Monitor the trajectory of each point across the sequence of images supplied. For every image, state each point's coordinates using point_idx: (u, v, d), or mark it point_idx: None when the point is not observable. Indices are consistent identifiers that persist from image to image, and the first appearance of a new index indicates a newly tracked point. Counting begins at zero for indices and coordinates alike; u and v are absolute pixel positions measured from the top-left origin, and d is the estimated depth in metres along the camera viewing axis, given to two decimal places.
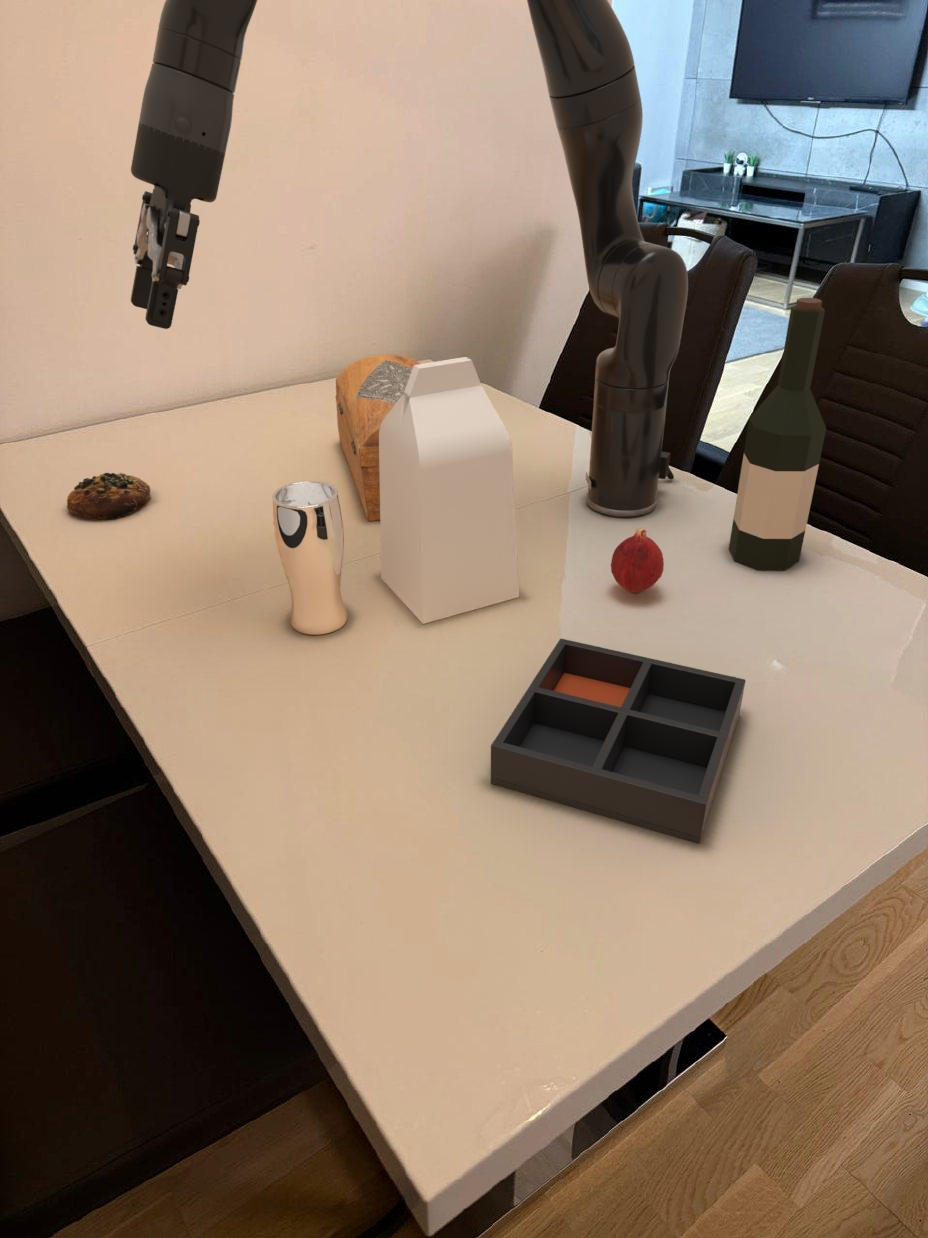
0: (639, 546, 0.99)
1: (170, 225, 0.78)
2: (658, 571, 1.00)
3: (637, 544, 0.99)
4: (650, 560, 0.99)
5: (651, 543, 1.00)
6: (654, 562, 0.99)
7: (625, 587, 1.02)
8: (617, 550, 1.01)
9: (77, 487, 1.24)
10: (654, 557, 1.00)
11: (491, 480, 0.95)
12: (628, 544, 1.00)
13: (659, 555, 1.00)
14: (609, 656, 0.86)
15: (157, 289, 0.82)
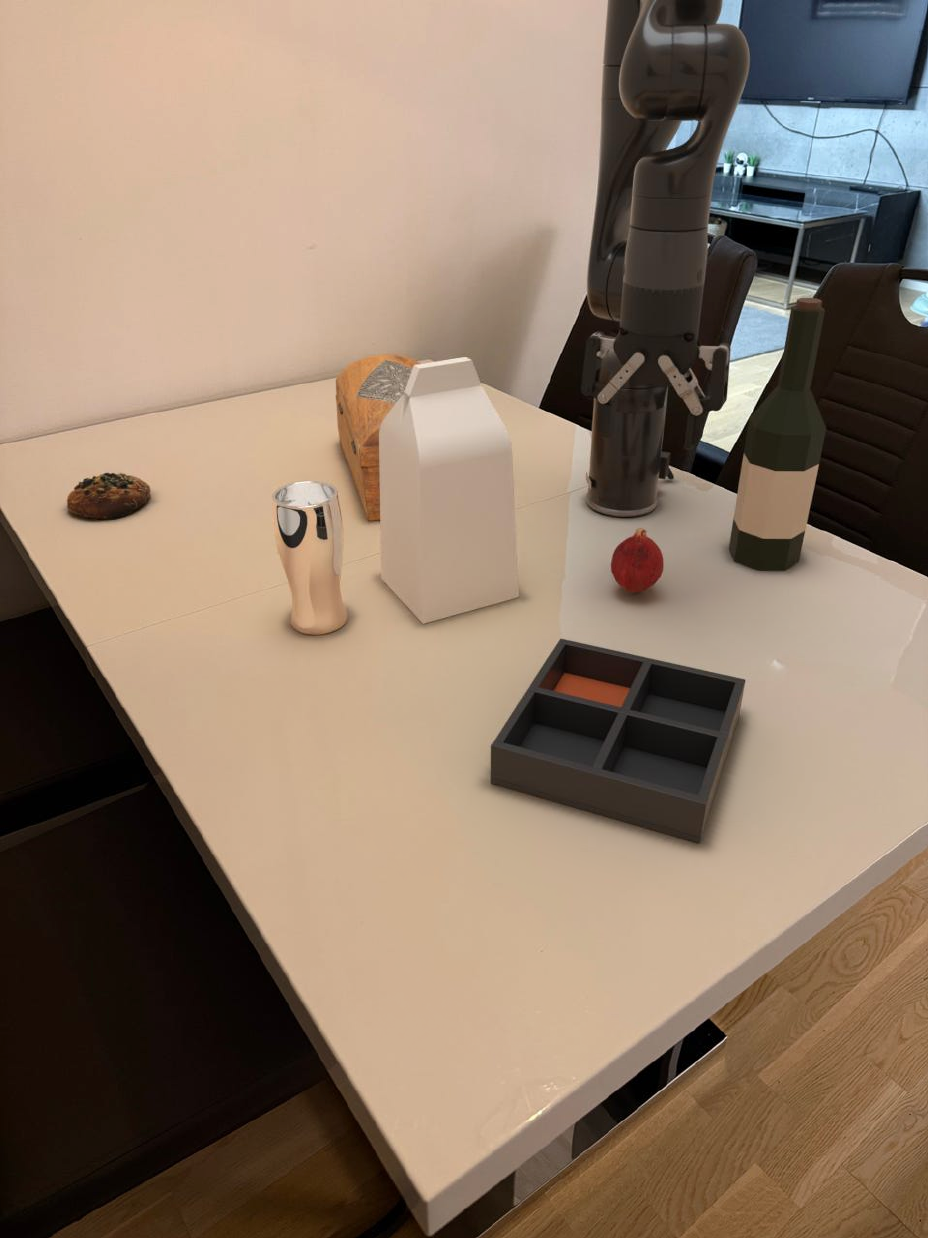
0: (639, 546, 0.99)
1: (725, 364, 0.86)
2: (658, 571, 1.00)
3: (637, 544, 0.99)
4: (650, 560, 0.99)
5: (651, 543, 1.00)
6: (654, 562, 0.99)
7: (625, 587, 1.02)
8: (617, 550, 1.01)
9: (77, 487, 1.24)
10: (654, 557, 1.00)
11: (491, 480, 0.95)
12: (628, 544, 1.00)
13: (659, 555, 1.00)
14: (609, 656, 0.86)
15: (697, 419, 0.90)
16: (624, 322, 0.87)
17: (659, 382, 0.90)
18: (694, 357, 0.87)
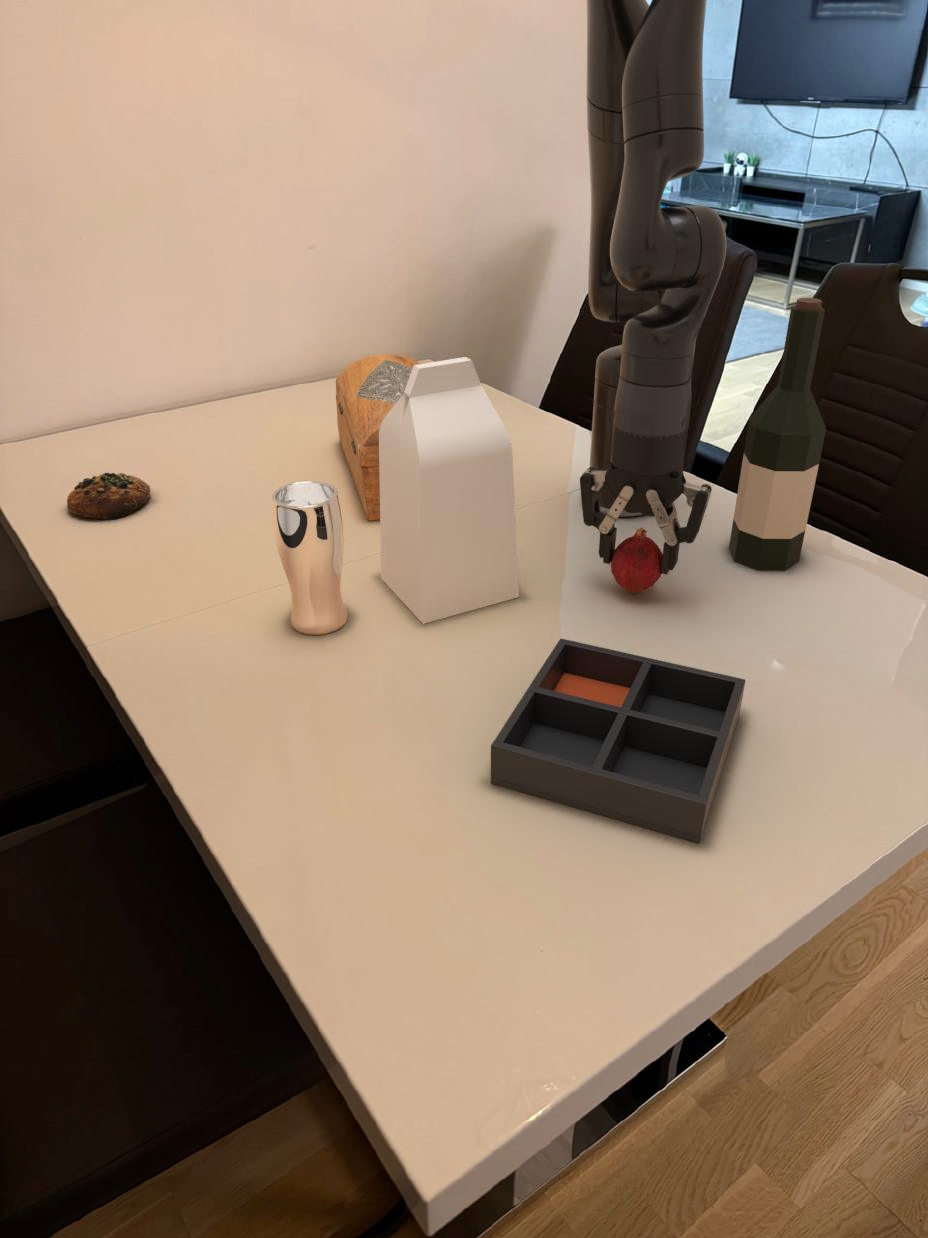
0: (639, 546, 0.99)
1: (704, 506, 0.94)
2: (658, 571, 1.00)
3: (637, 544, 0.99)
4: (650, 560, 0.99)
5: (651, 543, 1.00)
6: (654, 563, 1.00)
7: (625, 587, 1.02)
8: (617, 550, 1.01)
9: (77, 487, 1.24)
10: (654, 557, 1.00)
11: (491, 480, 0.95)
12: (628, 544, 1.00)
13: (659, 555, 1.00)
14: (609, 656, 0.86)
15: (672, 548, 0.98)
16: (615, 460, 0.94)
17: (647, 511, 0.97)
18: (679, 492, 0.95)
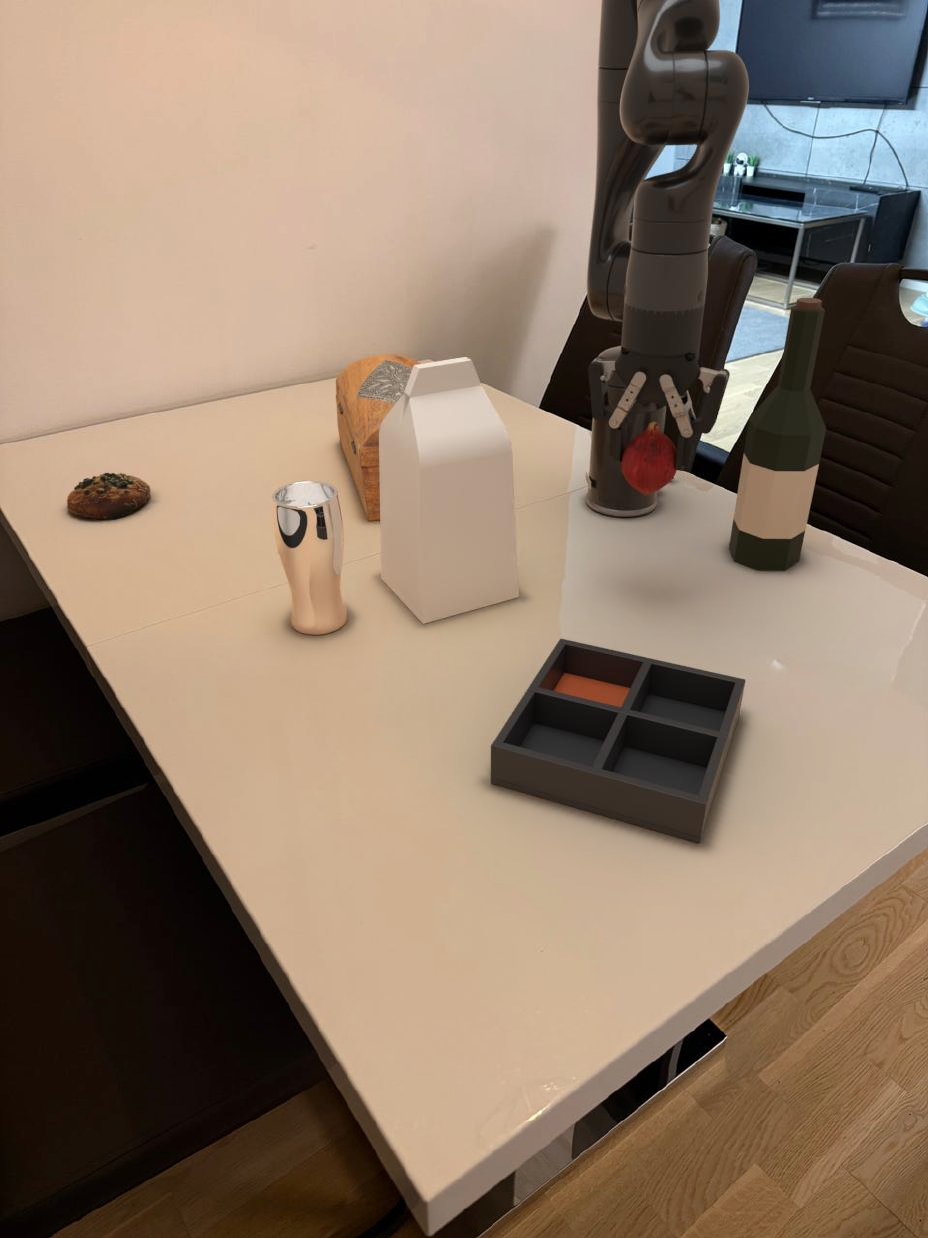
0: (652, 440, 0.93)
1: (722, 391, 0.88)
2: (672, 467, 0.94)
3: (650, 438, 0.93)
4: (664, 455, 0.93)
5: (664, 437, 0.94)
6: (668, 458, 0.93)
7: (637, 486, 0.95)
8: (628, 446, 0.95)
9: (77, 487, 1.24)
10: (668, 452, 0.93)
11: (491, 480, 0.95)
12: (640, 439, 0.94)
13: (673, 450, 0.94)
14: (609, 656, 0.86)
15: (688, 441, 0.92)
16: (626, 342, 0.88)
17: (660, 400, 0.91)
18: (695, 376, 0.88)
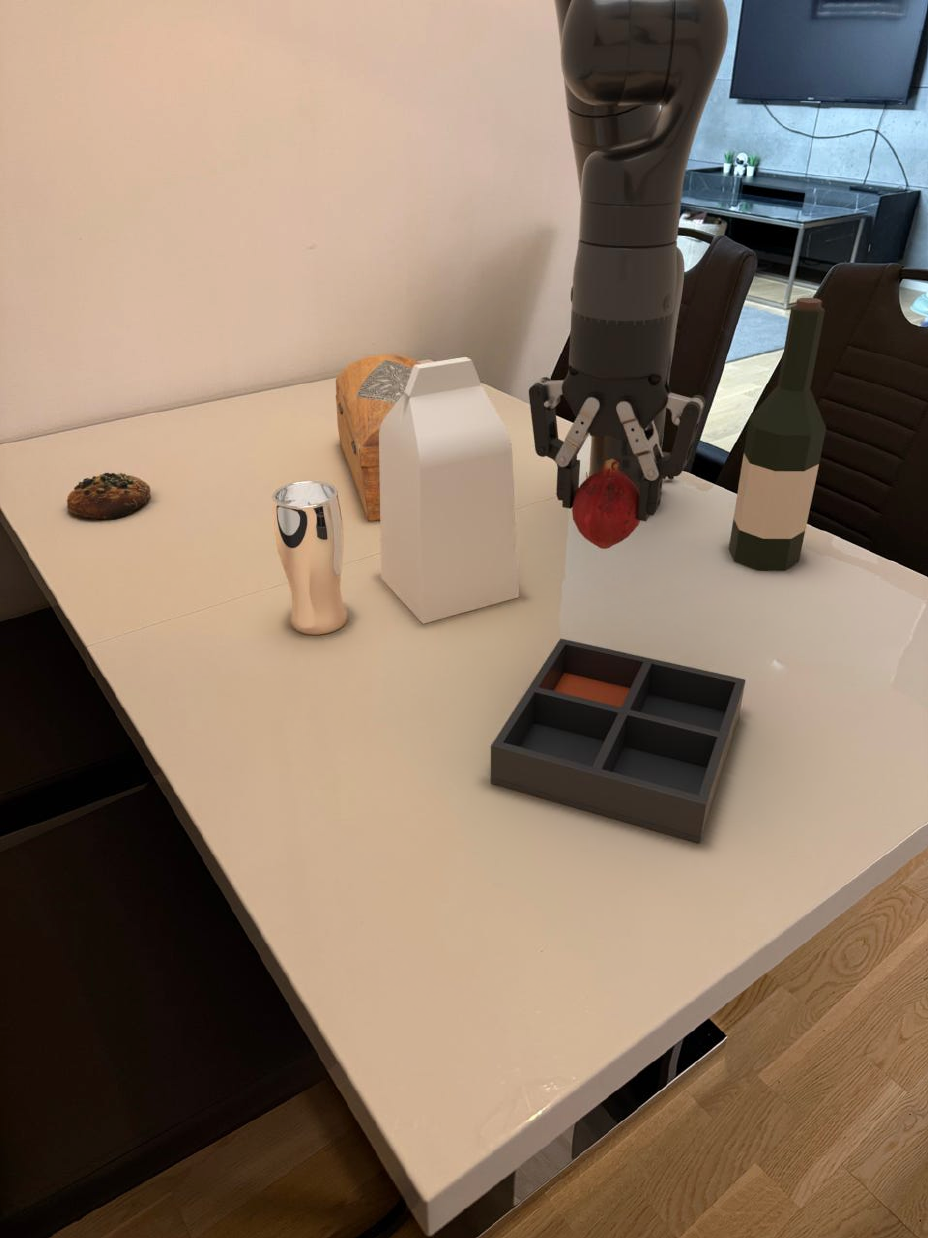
0: (609, 482, 0.74)
1: (695, 424, 0.69)
2: (634, 517, 0.75)
3: (606, 480, 0.74)
4: (623, 501, 0.74)
5: (624, 479, 0.75)
6: (629, 505, 0.74)
7: (591, 539, 0.76)
8: (580, 489, 0.76)
9: (77, 487, 1.24)
10: (629, 497, 0.74)
11: (491, 480, 0.95)
12: (594, 480, 0.75)
13: (636, 495, 0.75)
14: (609, 656, 0.86)
15: (653, 485, 0.73)
16: (573, 360, 0.69)
17: (618, 434, 0.72)
18: (661, 404, 0.70)
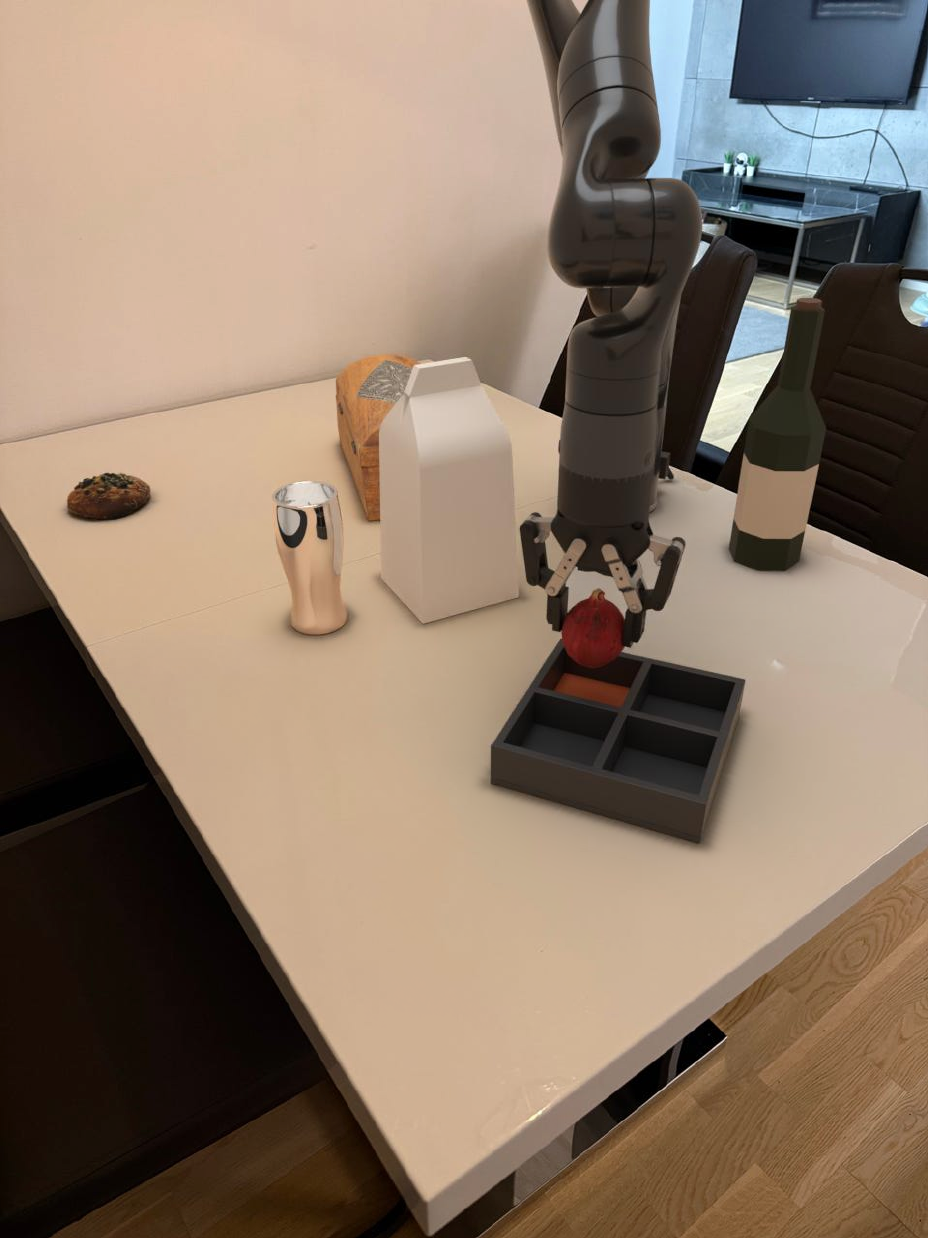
0: (596, 612, 0.79)
1: (676, 566, 0.74)
2: (620, 643, 0.79)
3: (593, 610, 0.79)
4: (609, 631, 0.79)
5: (610, 608, 0.79)
6: (614, 633, 0.79)
7: (579, 662, 0.81)
8: (568, 616, 0.80)
9: (77, 487, 1.24)
10: (614, 626, 0.79)
11: (491, 480, 0.95)
12: (582, 609, 0.79)
13: (621, 623, 0.79)
14: None
15: (637, 616, 0.78)
16: (561, 507, 0.74)
17: (604, 570, 0.76)
18: (644, 547, 0.74)
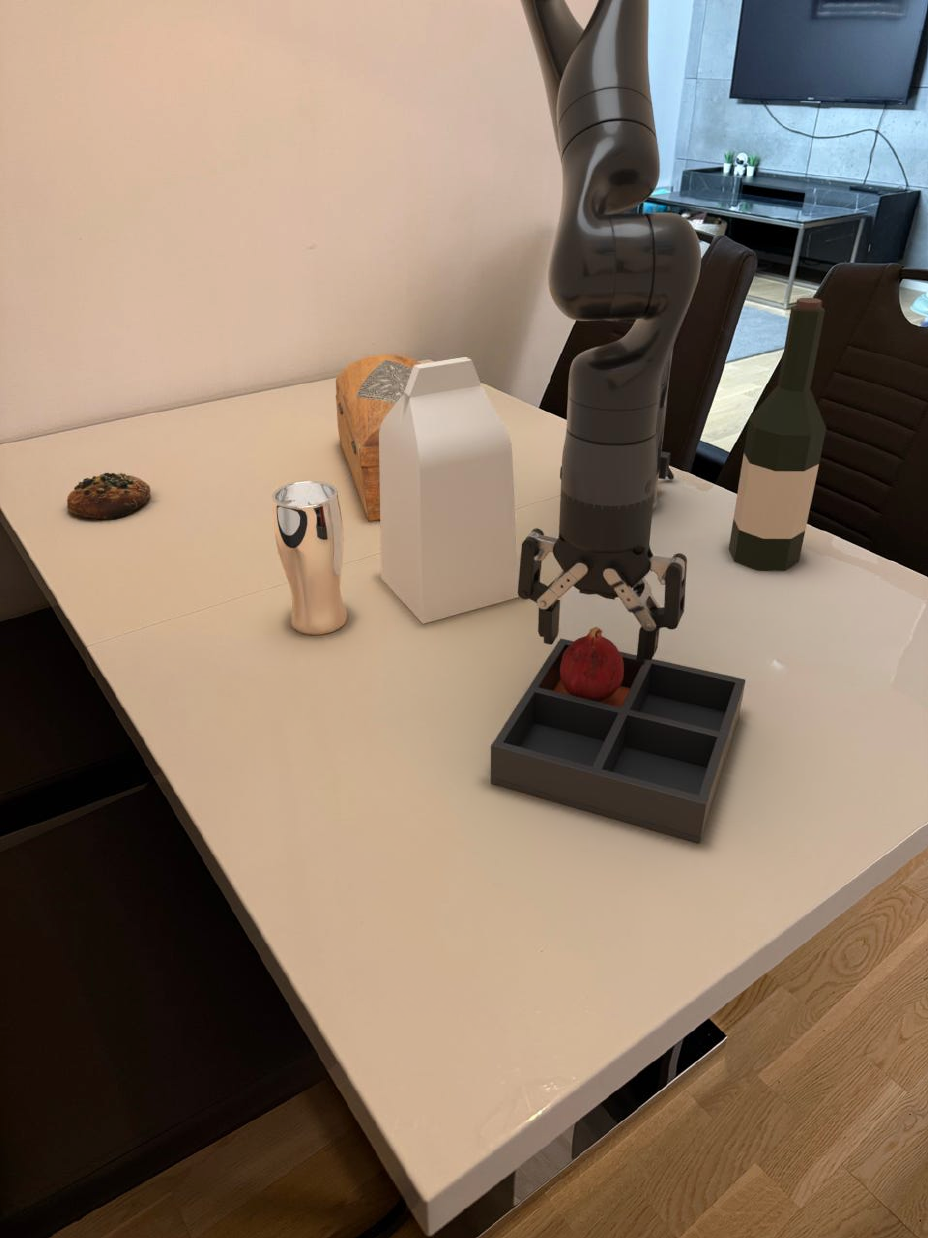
0: (593, 650, 0.81)
1: (680, 582, 0.74)
2: (616, 680, 0.82)
3: (590, 649, 0.81)
4: (606, 668, 0.81)
5: (607, 646, 0.81)
6: (611, 671, 0.81)
7: None
8: (567, 653, 0.82)
9: (77, 487, 1.24)
10: (611, 664, 0.81)
11: (491, 480, 0.95)
12: (579, 647, 0.81)
13: (618, 661, 0.81)
14: None
15: (651, 634, 0.78)
16: (563, 532, 0.75)
17: (606, 593, 0.78)
18: (645, 571, 0.75)
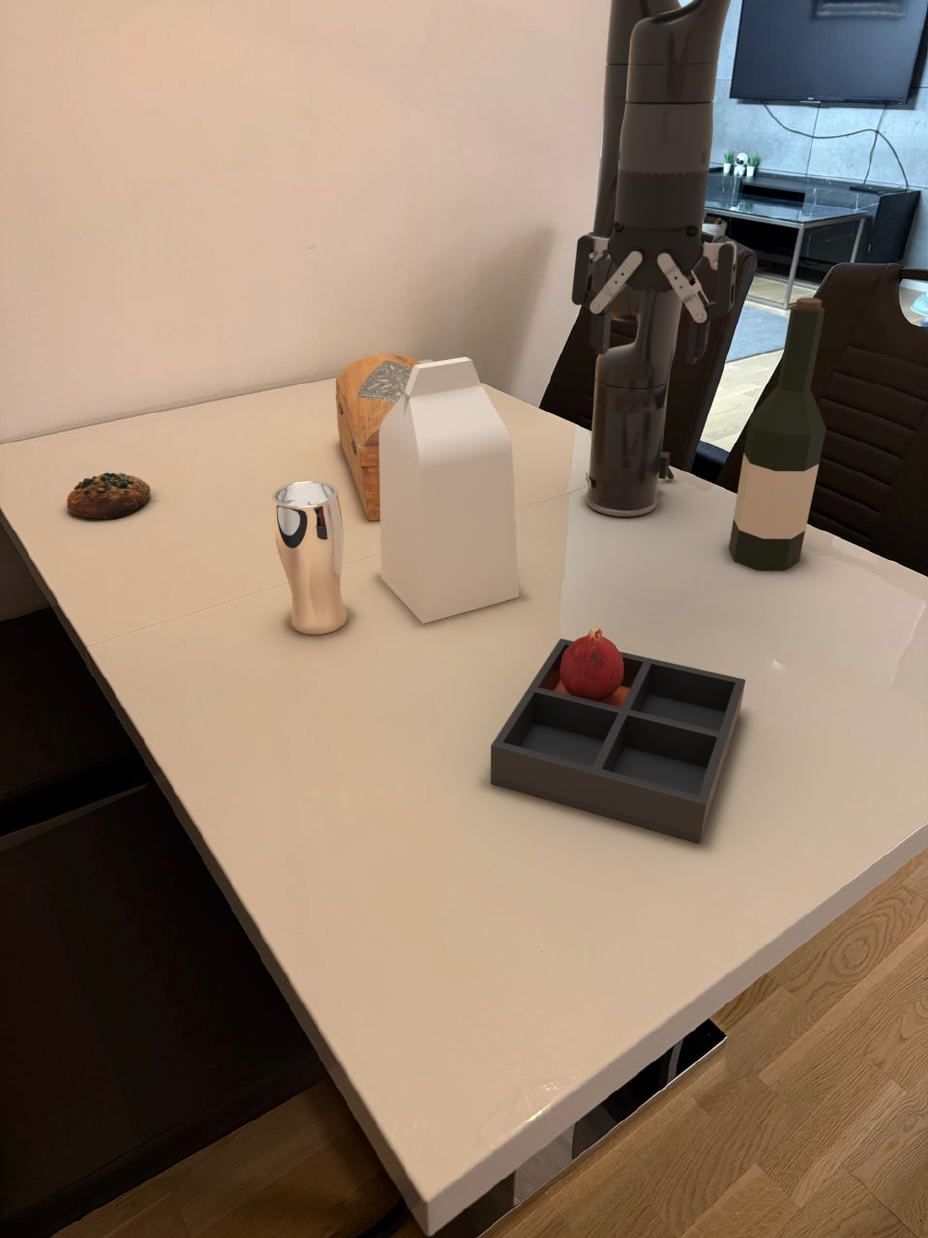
0: (593, 650, 0.81)
1: (732, 262, 0.77)
2: (616, 680, 0.82)
3: (590, 649, 0.81)
4: (606, 668, 0.81)
5: (607, 646, 0.81)
6: (611, 671, 0.81)
7: None
8: (567, 653, 0.82)
9: (77, 487, 1.24)
10: (611, 664, 0.81)
11: (491, 480, 0.95)
12: (579, 647, 0.81)
13: (618, 661, 0.81)
14: None
15: (701, 327, 0.81)
16: (620, 215, 0.78)
17: (658, 286, 0.81)
18: (697, 255, 0.78)
